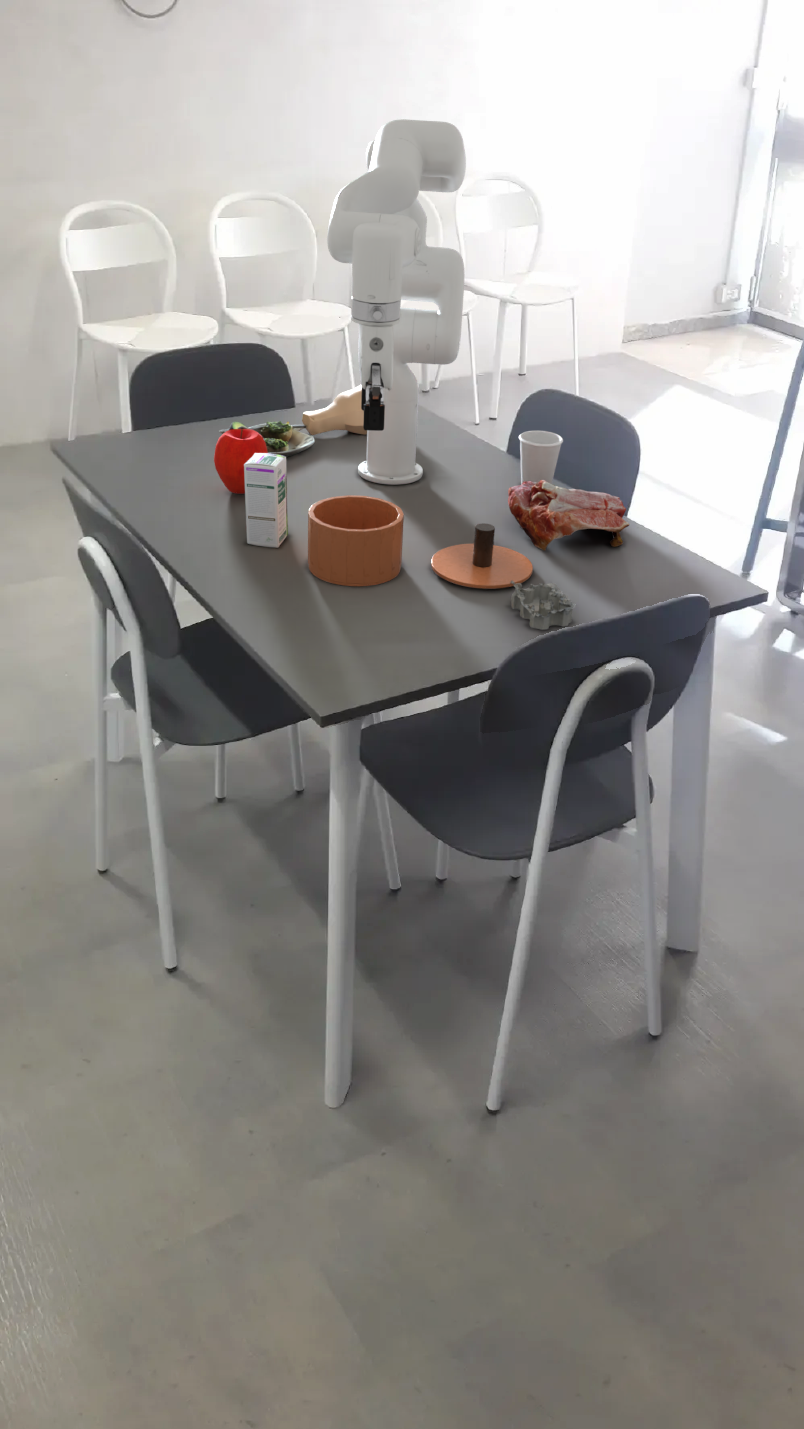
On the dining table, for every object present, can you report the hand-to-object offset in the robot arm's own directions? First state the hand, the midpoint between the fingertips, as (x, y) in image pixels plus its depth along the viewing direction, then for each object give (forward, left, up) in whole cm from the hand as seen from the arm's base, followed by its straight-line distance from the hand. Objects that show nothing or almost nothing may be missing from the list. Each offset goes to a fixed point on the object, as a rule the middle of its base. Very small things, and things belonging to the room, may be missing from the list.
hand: (372, 419), depth 201 cm
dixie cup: (-34, +33, -23) cm, 52 cm away
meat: (-13, +36, -23) cm, 45 cm away
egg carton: (+21, +27, -23) cm, 41 cm away
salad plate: (-53, -20, -23) cm, 61 cm away
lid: (+5, +19, -23) cm, 30 cm away
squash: (-64, -4, -23) cm, 68 cm away
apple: (-27, -23, -23) cm, 42 cm away
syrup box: (-5, -17, -23) cm, 29 cm away
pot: (+5, -2, -23) cm, 24 cm away
